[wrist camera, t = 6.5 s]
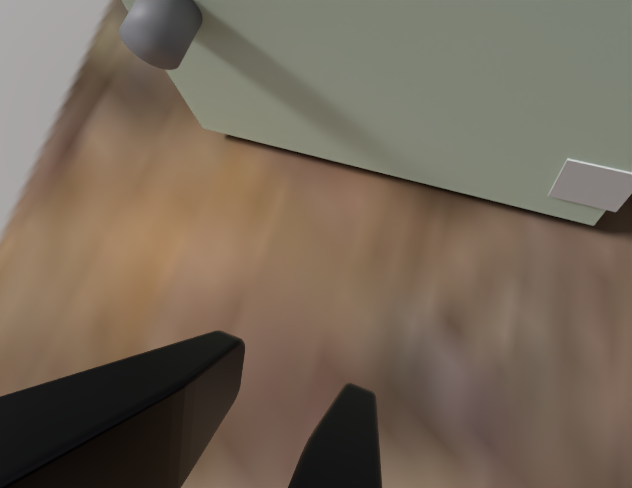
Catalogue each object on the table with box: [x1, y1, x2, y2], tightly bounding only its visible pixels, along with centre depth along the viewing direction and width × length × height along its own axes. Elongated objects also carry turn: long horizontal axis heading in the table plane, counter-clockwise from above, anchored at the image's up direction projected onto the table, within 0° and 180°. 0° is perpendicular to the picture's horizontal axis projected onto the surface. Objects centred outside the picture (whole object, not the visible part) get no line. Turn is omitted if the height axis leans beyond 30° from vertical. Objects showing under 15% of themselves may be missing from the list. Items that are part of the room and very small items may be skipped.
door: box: [119, 0, 632, 226], centre depth 11 cm, size 3×12×10 cm, turn 69°
